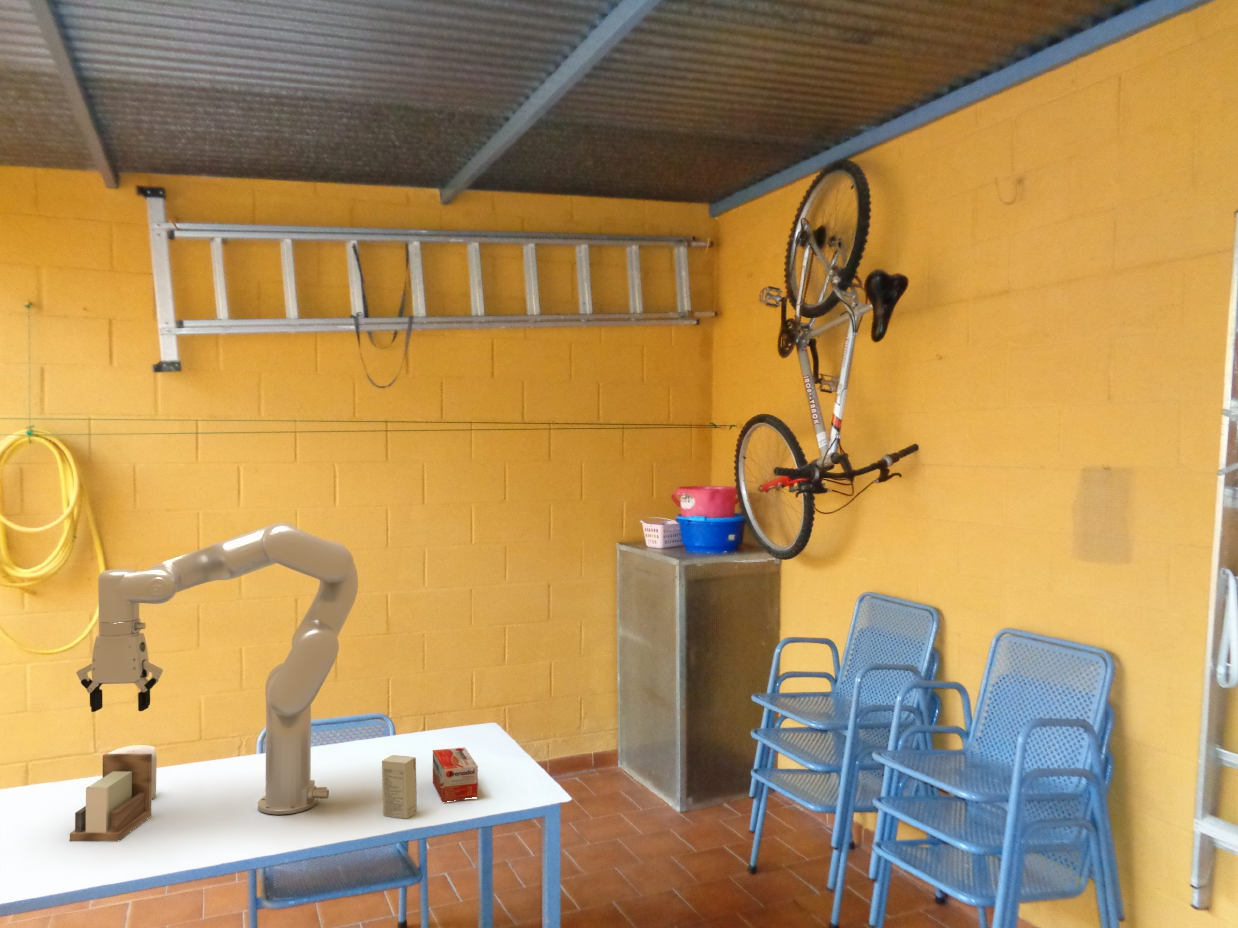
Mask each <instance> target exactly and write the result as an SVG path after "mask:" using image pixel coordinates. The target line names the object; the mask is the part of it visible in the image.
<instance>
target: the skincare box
mask: <svg viewBox="0 0 1238 928" xmlns="http://www.w3.org/2000/svg"><path fill="white" fill-rule="evenodd" d="M381 771H382V772H381V775H382V776H381V778H382V779H381V780H382V816H383V815H384V816H383V817H390V816H391V818H399V819H409V818H410V817H411V816H413V815H414V814H416V813H418V811H417V810H418V809H417V808H418V805H417V804H418V803H417V801H418V799H417V757H416V756H407V755H398V754H397V755H396V754H395V755H394V754H392V755H390V756H388V757H386V758H385V759H382V760H381Z"/></svg>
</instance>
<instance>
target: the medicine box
mask: <svg viewBox="0 0 1238 928" xmlns="http://www.w3.org/2000/svg"><path fill="white" fill-rule="evenodd" d="M478 767H479V766H478V764H477V763H476V762H475V760H474V758H473V757H472V756H471V754H470V752H469V751H468V750H467V748H466V747H454V748H444V749H443V748H442V749H433V750H432V784H433V786H434V788H435V790H436V792H437V793H438V796H439V798H440V797H441V798H440V800H441V802H442V803H443V802H447V801H454V800H458V801H462V800H461V799H465V798H472V797H477V798H478V792H479V791H478V787H479V786H478V785H479V784H478V777H479V776H478V775H479V774H478V773H479V772H478V771H479V769H478Z"/></svg>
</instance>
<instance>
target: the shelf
mask: <svg viewBox="0 0 1238 928" xmlns="http://www.w3.org/2000/svg"><path fill="white" fill-rule="evenodd" d="M113 771H120V772H132V798H131V799H130V800H129V801H127V802H126V803H124V804H123V805H121V806H120V807H119V808H117V809H116V810H114V811H113V812H112V813H111V829H110V830H109V831H108V832H106V833H86V805H85V806H83V807H82V808H80V809H79V810H77V811H76V812H74V830H73V831H70V833H69V842H119V841H118V840H120V841H121V840H123V839H124V838H125V837H126V835H127V834H128V833H129V832H130V831H132V830H133V829H134V828H135V827H137V826H138V827H140V826H141V825H142V824H143V823H145V822H146V821H147V820H148V819H147V818H149V817H150V816H151V817H152V799H151V792H152V754H108V753H104V754H102V778H103V777H105V776H107V775H108V774H110V773H111V772H113ZM151 817H150V818H151ZM150 818H149V819H150ZM146 819H147V820H146ZM145 820H146V821H145ZM144 821H145V822H144ZM142 822H143V823H142ZM141 823H142V824H141ZM140 824H141V825H140ZM139 825H140V826H139ZM138 827H137V828H138ZM134 830H135V829H134ZM134 830H133V831H134ZM133 831H132V832H133ZM129 834H130V833H129ZM129 834H128V835H129ZM128 835H127V836H128ZM124 836H125V837H124ZM123 837H124V838H123ZM122 838H123V839H122Z"/></svg>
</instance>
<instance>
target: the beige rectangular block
mask: <svg viewBox="0 0 1238 928" xmlns="http://www.w3.org/2000/svg"><path fill="white" fill-rule="evenodd" d="M131 798H132V772H120V771H113V772H111V773H110V774H108V775H107V776H105V777H103V776H102V777H101V778H100V779H98V780H97V781H95V782H94V783H92V784H90V785H89V786H87V787H86V788H85V806H86V833H106V832H108V831H109V830H110V829H111V813H112V812H113V811H114V810H116V809H117V808H119V807H120V806H121V805H123V804H124V803H126V802H127V801H129V800H130V799H131Z"/></svg>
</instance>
